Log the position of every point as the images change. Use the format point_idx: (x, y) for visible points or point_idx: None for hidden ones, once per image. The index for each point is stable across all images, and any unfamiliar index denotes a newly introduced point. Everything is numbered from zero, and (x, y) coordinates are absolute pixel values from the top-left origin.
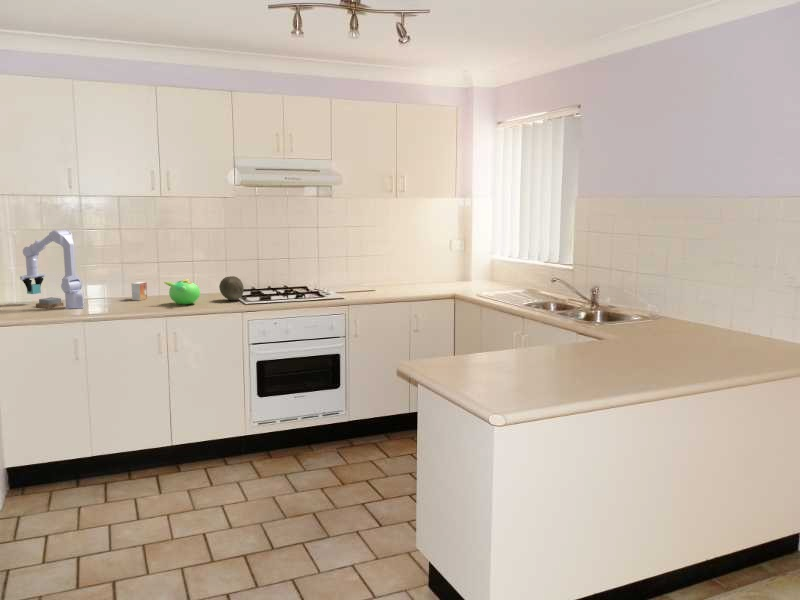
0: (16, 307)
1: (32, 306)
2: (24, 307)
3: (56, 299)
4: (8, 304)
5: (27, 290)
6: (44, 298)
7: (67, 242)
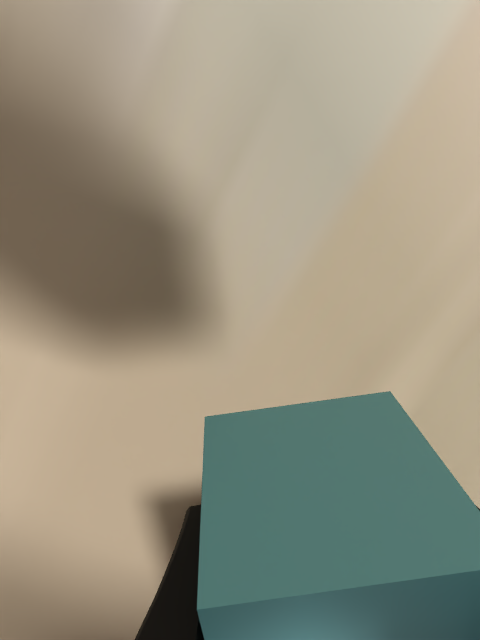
0: (10, 412)
1: (175, 475)
2: (81, 473)
3: None
4: (8, 53)
5: (207, 478)
6: None
7: None
